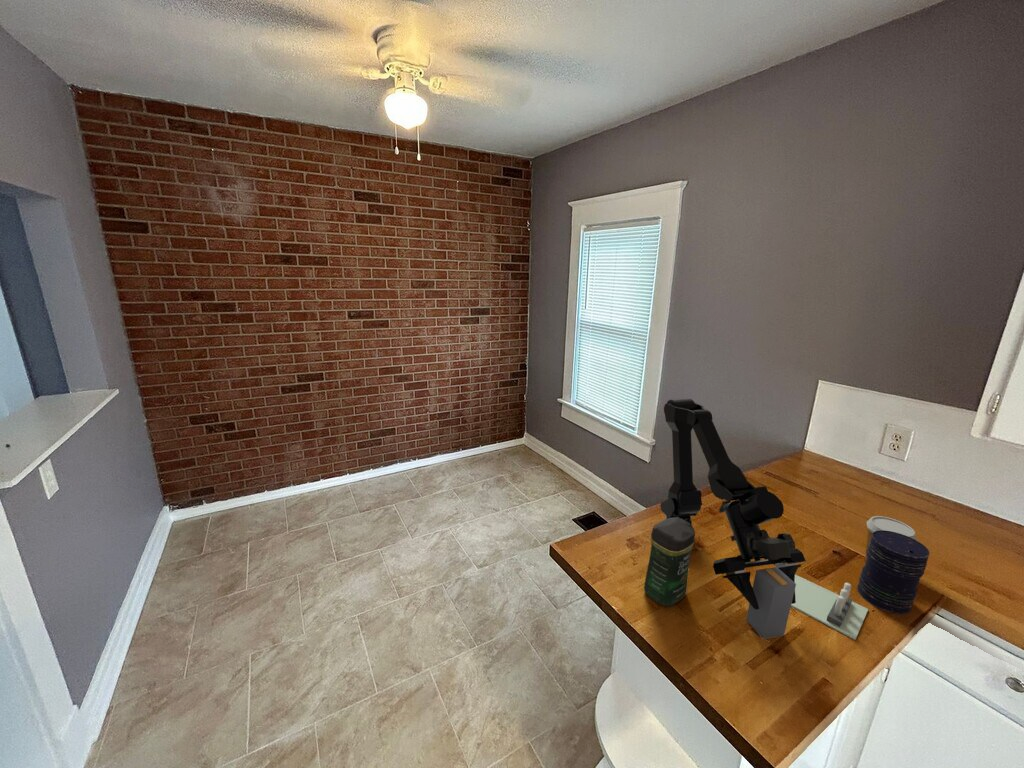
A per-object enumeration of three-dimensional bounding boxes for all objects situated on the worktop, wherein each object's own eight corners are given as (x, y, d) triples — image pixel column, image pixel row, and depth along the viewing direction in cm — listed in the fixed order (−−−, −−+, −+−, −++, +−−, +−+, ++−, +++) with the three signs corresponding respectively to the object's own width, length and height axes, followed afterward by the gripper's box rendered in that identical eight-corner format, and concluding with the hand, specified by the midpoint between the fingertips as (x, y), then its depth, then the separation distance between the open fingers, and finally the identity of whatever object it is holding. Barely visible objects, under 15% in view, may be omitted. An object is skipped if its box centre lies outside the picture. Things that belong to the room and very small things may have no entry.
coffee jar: (667, 613, 93) (677, 541, 88) (638, 591, 99) (646, 523, 94) (692, 594, 99) (702, 525, 94) (663, 574, 105) (671, 509, 100)
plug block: (746, 619, 92) (756, 568, 88) (765, 616, 93) (776, 565, 89) (763, 639, 87) (774, 585, 83) (784, 635, 88) (796, 582, 84)
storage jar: (846, 581, 103) (860, 529, 99) (887, 583, 103) (903, 530, 99) (879, 614, 94) (896, 557, 89) (924, 615, 93) (943, 558, 89)
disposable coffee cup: (864, 573, 106) (876, 532, 103) (851, 550, 115) (861, 511, 111) (912, 583, 103) (926, 541, 100) (894, 559, 111) (906, 519, 108)
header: (770, 595, 98) (775, 574, 97) (787, 572, 106) (792, 552, 104) (855, 640, 87) (862, 616, 85) (867, 610, 94) (874, 588, 93)
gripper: (730, 525, 85) (761, 611, 78) (807, 516, 89) (845, 598, 81) (701, 535, 95) (726, 613, 87) (772, 526, 98) (802, 600, 91)
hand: (775, 606), depth 87 cm, fingers open, 8 cm apart
